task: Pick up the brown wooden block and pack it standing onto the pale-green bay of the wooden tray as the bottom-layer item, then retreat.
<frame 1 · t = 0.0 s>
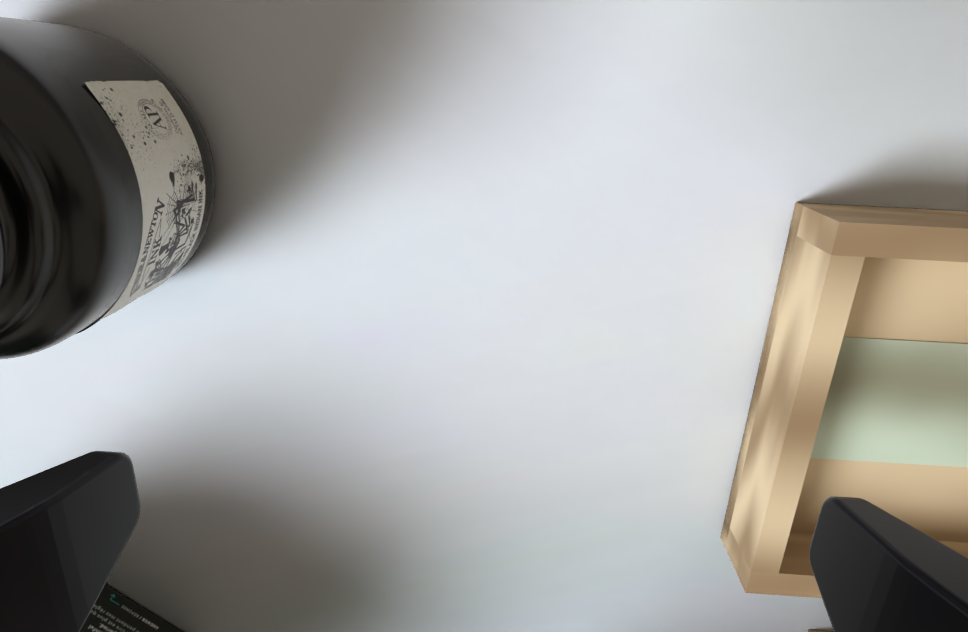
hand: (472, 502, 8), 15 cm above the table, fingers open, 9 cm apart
ink bottle: (98, 165, 22), on the table
tampon box: (56, 628, 30), on the table
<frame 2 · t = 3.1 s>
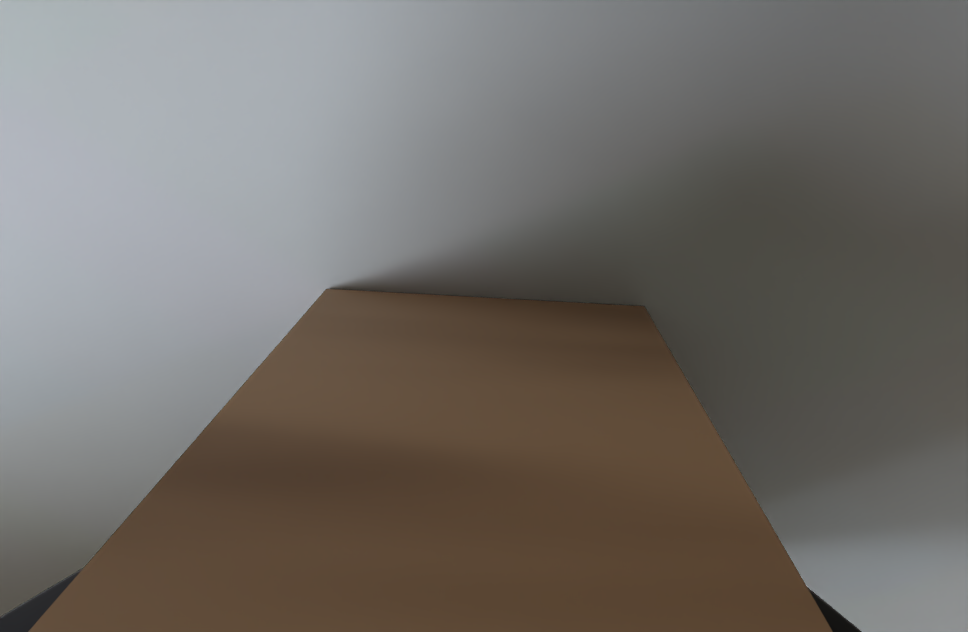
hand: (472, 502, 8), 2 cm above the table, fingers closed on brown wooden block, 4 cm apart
brown wooden block: (478, 434, 10), on the table, touching gripper
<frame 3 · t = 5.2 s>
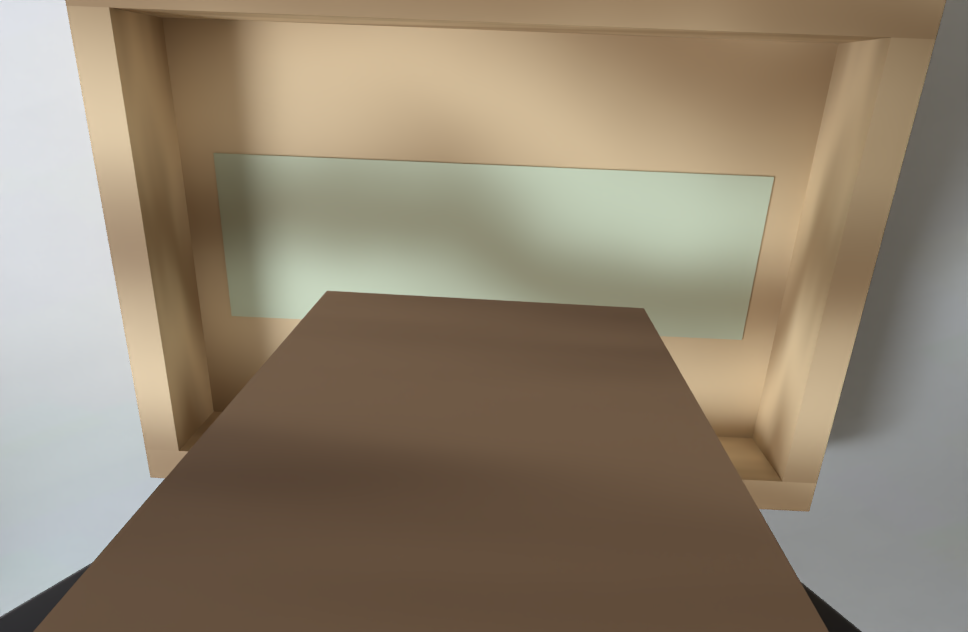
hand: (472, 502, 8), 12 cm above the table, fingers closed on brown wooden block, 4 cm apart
wooden tray: (488, 244, 19), on the table
brown wooden block: (478, 436, 10), point 10 cm above the table, touching gripper
when the fingers open (3 cm above the table, at t = 7.2 s): brown wooden block stays where it is, resting on wooden tray.
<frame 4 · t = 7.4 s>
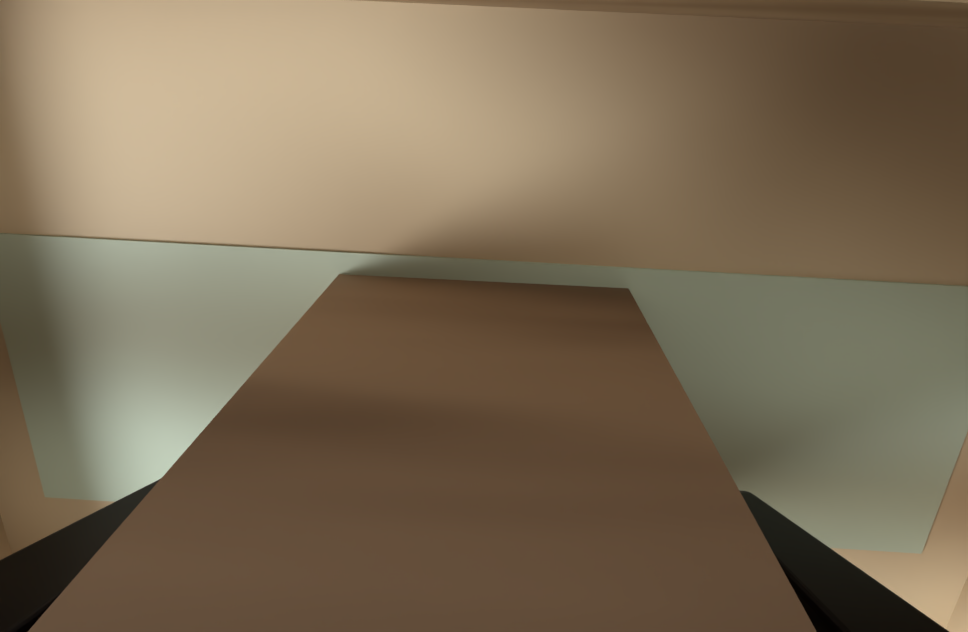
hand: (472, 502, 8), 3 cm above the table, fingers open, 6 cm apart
wooden tray: (483, 386, 11), on the table
brown wooden block: (477, 408, 10), point 1 cm above the table, touching wooden tray
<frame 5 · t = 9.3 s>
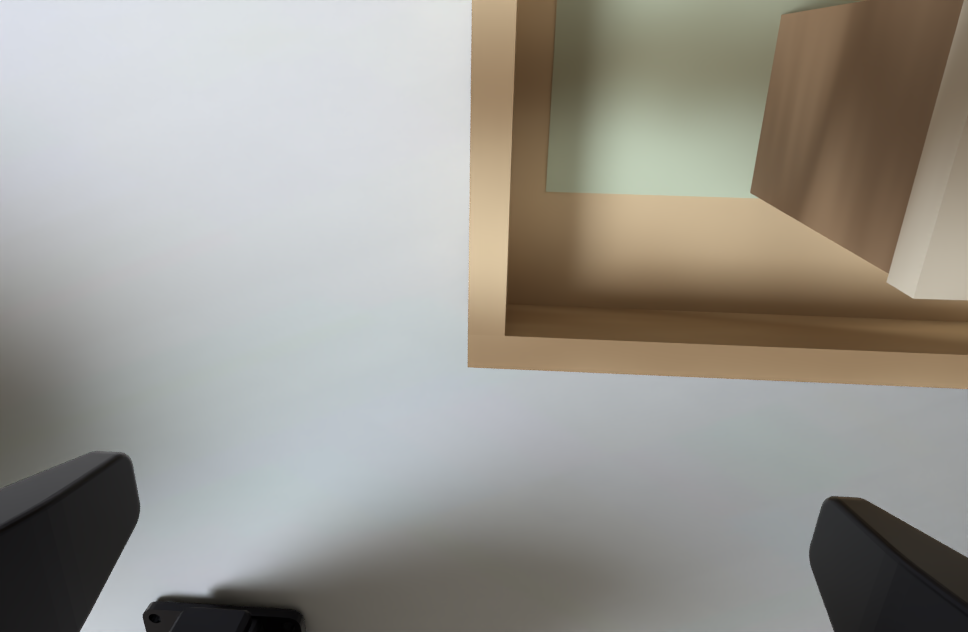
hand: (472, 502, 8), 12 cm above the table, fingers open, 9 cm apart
wooden tray: (843, 104, 17), on the table
brown wooden block: (851, 110, 17), point 1 cm above the table, touching wooden tray
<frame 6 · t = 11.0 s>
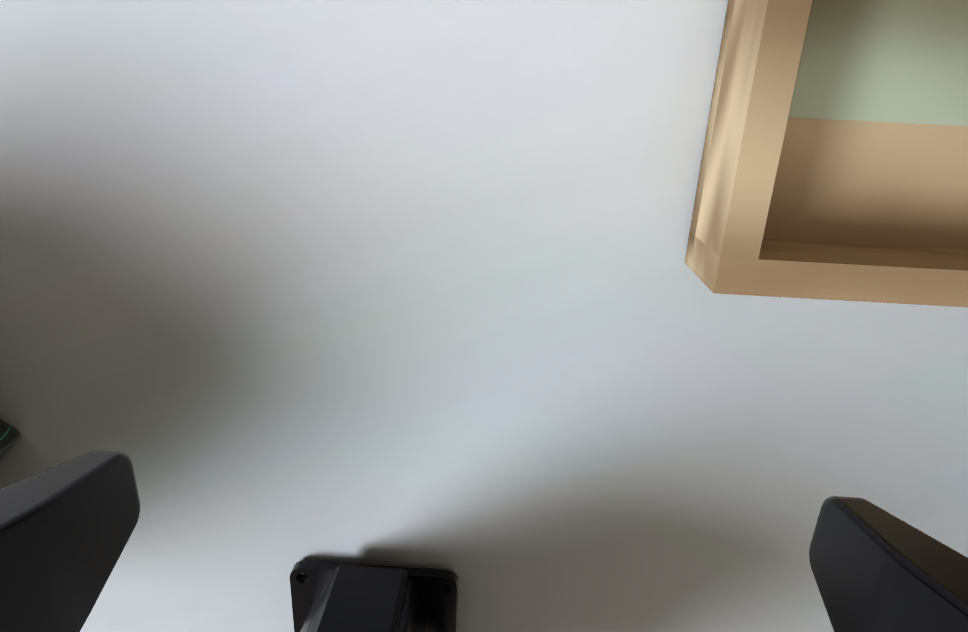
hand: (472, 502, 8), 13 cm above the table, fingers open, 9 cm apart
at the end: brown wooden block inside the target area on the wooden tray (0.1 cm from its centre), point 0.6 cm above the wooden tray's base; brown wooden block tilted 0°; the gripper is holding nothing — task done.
